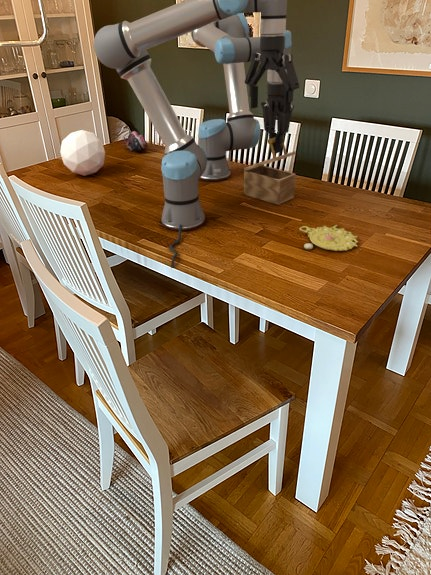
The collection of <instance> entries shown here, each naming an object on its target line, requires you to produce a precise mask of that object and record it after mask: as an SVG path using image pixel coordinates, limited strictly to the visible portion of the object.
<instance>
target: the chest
mask: <svg viewBox="0 0 431 575" xmlns="http://www.w3.org/2000/svg"><path fill="white" fill-rule="evenodd" d="M296 175H297V174H296V173H294V172H290V171H286V170H282V169H278V168H274V167H271V166H266V165H262V166H259V167H255V168H252V169H249V170H246V171H243V195H245V196H247V197H251V198H254V199H257V200H261V201H262V202H263V201H264V202H267V203H270V204H274V205H277V206H279V205H282V204H283V203H286V202H288V201H290V200H292V199H295V190H296V177H297V176H296Z"/></svg>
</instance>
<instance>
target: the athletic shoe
mask: <svg viewBox="0 0 431 575" xmlns="http://www.w3.org/2000/svg"><path fill="white" fill-rule="evenodd" d="M127 138H128V139H126V137H123V140H124V143H123V142H122V143H121V145H123V146H126V147H127V148H128V150H129V151H130V152H137V153H138V152H139V151H142V150H143V149H148V148H149V144H148V143H147V141H146V139H145V137H144V135H143V134H139V133H138V132H137V131H136V130H133V131H131V132H130V133H129V135H128V137H127Z"/></svg>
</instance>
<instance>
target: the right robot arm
mask: <svg viewBox="0 0 431 575" xmlns="http://www.w3.org/2000/svg"><path fill="white" fill-rule="evenodd" d="M249 34H250V27H249V23H248V20H247V17H246V16H245V15H244V13H238V14H236V15H233V16H230V17H228V18H225V19H223V20H219V21H217V22H214V23H212V24H209V25H207V26H204V27H202V28H199V29H197V30H194V31H192V32H190V37H191V39H192V41H193V42H194V44H196V45H197V46H199V47H201V48H207V49H208V50H210V51H212V52H213V53H214V57H215V61H216V62H217V64H221V65H222V66H223V72H224V81H225V88H226V97H227V103H228V112H229V113H228V114H229V115H228V116H227V117H226V120H225V119H223V118H218V119H217V118H213V119H209V120H205V121H203V122H201V123H200V124H199V126H198V132H197V133H198V134H197V138H198V145H199V146H200V147H202V148H203V150H204V151H205V153H206V156H207V165H206V169H205V171H204V173H203V174H202V175H201V177H200V179H199V181H202V182H203V181H204V182H222V181H226V180H228V179H229V178H231V173H232V172H231V168H230V166H229V163H228V159H227V152H231V151H240V150H248V149H253V148H255V147H256V146H257V145H258V143H259V142H260V138H261V124H260V121H259V120H258V119H257V118H255V116H254V113H253V112H252V111H250V105H249V96H248V86H247V84H245V79H246V70H245V63H251V62H252V56H253V53H258V52H260V54H261V50H260V38H261V37H262V35H260V36H251V37H250V35H249ZM283 36H285V49H284V51H283V54H284V55H288V54H292V46H293V44H292V43H293V42H292V32H291V31H290V30H288V29H287V30H286V31H285V34H283ZM260 62H261V59H260ZM282 63H283V65H284V67H285V63H284V62H282ZM285 70H286V68H285ZM266 71H267V72H266V73H267V74H266V81H267V82H268V83H267V84H266V95H267V98H266V99H265V101H261V102H260V105H261V109H262V119H263V130H264V131H266V132H267V133H268V139H271V138H274V137H275V143H272V145H273V148H274V152H275V154H279V153H281V152H282V143H283V142H284V139H283V137H284V135H285V134H287V133H289V130H290V125H291V120H292V119H291V118H292V114H293V110H294V108H295V105H294V104H291V109H290V112H289V113H286V114H284V113H283V107H284V91H286V88H285V86H284V84H283V82H282V80H281V78H280V76H279V75H278V73H277V72H276V71H275V70H266ZM286 72H287V71H286ZM276 127H277V128H276ZM276 129H277V130H276ZM269 153H272V151H271V147H270V146H269Z"/></svg>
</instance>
